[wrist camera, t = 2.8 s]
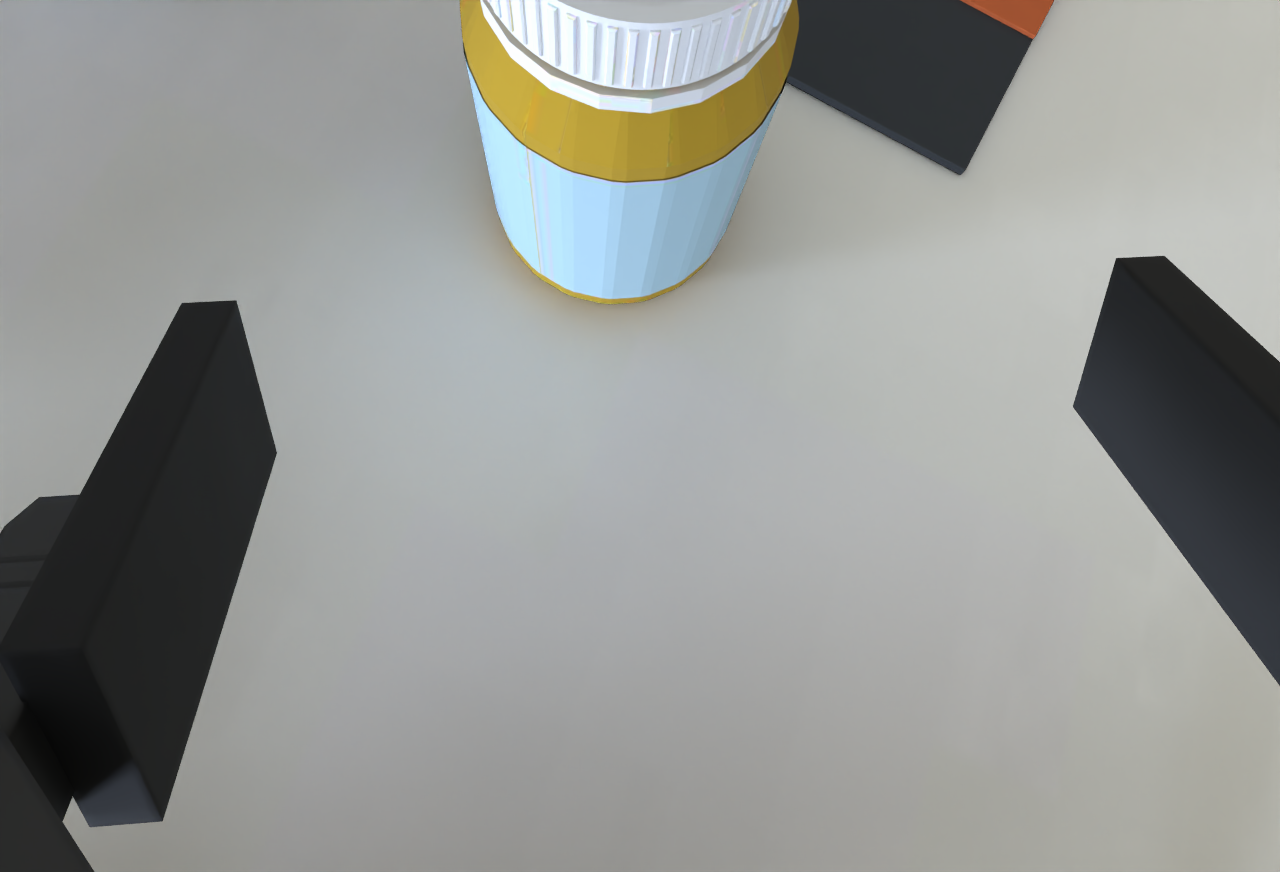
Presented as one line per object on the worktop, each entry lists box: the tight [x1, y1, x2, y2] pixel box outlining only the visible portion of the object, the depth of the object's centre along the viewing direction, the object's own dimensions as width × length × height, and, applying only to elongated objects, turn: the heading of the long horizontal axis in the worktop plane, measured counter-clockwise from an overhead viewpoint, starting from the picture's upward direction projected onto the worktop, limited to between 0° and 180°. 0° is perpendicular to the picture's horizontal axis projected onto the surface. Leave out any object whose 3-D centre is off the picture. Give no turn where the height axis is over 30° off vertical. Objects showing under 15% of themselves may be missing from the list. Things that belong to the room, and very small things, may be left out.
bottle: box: [460, 0, 799, 304], centre depth 24 cm, size 7×7×15 cm
